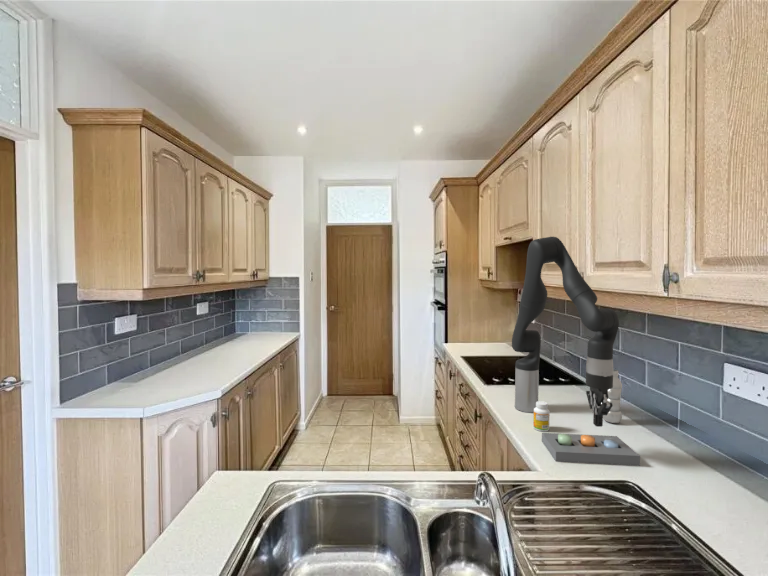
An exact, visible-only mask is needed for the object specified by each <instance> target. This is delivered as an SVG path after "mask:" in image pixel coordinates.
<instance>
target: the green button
mask: <svg viewBox="0 0 768 576" xmlns="http://www.w3.org/2000/svg"><path fill="white" fill-rule="evenodd" d="M567 434H568V433H559V434H558V444H559V445H564V446H572V437H571V436H570V435H567Z"/></svg>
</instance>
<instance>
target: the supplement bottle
mask: <svg viewBox="0 0 768 576" xmlns="http://www.w3.org/2000/svg"><path fill="white" fill-rule="evenodd" d="M548 407H549V405H548V402H546V401H542V400H538V401H537V402H536V407H535V408H534V412H533V424H532V425H533V429H534V430H535V431H538V432H542V433H546V432H548V431H549V430H550V409H549V408H548Z"/></svg>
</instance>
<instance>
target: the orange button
mask: <svg viewBox="0 0 768 576" xmlns="http://www.w3.org/2000/svg"><path fill="white" fill-rule="evenodd" d="M590 435H591V434H581V445H582V446H584V447H595V438H594V437H593V436H590Z"/></svg>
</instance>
